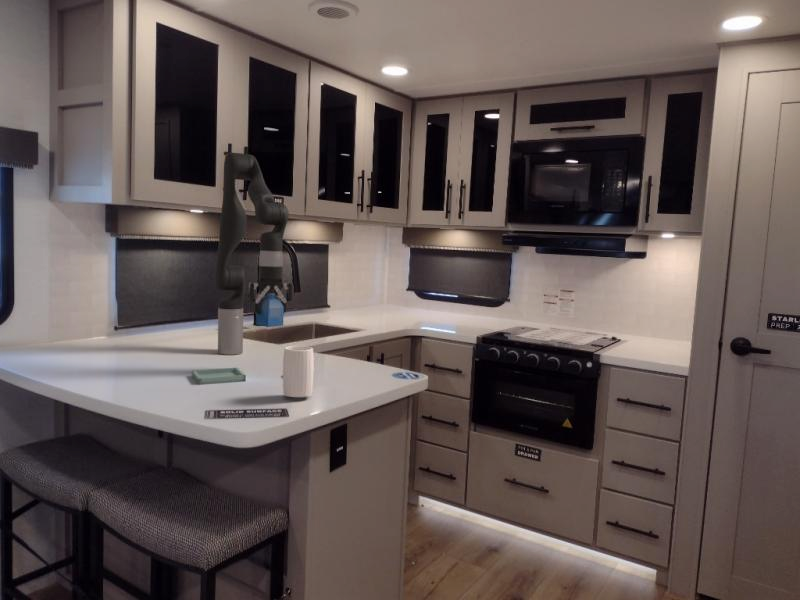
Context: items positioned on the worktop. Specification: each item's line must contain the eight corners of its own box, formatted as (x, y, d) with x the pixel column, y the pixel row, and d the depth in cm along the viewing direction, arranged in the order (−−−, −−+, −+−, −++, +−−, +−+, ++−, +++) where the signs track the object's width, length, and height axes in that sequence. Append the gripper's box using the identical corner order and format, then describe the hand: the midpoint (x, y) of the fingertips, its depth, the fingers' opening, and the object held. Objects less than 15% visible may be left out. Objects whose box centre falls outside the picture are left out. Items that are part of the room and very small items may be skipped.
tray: (192, 375, 189) (192, 370, 189) (237, 373, 196) (237, 367, 196) (198, 384, 179) (198, 378, 178) (245, 381, 185) (245, 375, 185)
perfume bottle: (271, 323, 202) (272, 287, 200) (283, 325, 198) (284, 289, 196) (256, 324, 197) (256, 288, 195) (268, 327, 193) (268, 290, 192)
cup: (291, 392, 173) (292, 344, 172) (317, 396, 171) (319, 347, 170) (276, 399, 165) (277, 349, 164) (304, 403, 163) (305, 351, 162)
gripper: (288, 264, 202) (287, 312, 203) (246, 263, 195) (245, 313, 197) (295, 265, 195) (294, 315, 197) (251, 265, 188) (250, 316, 190)
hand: (269, 314), depth 197 cm, fingers closed on perfume bottle, 8 cm apart
